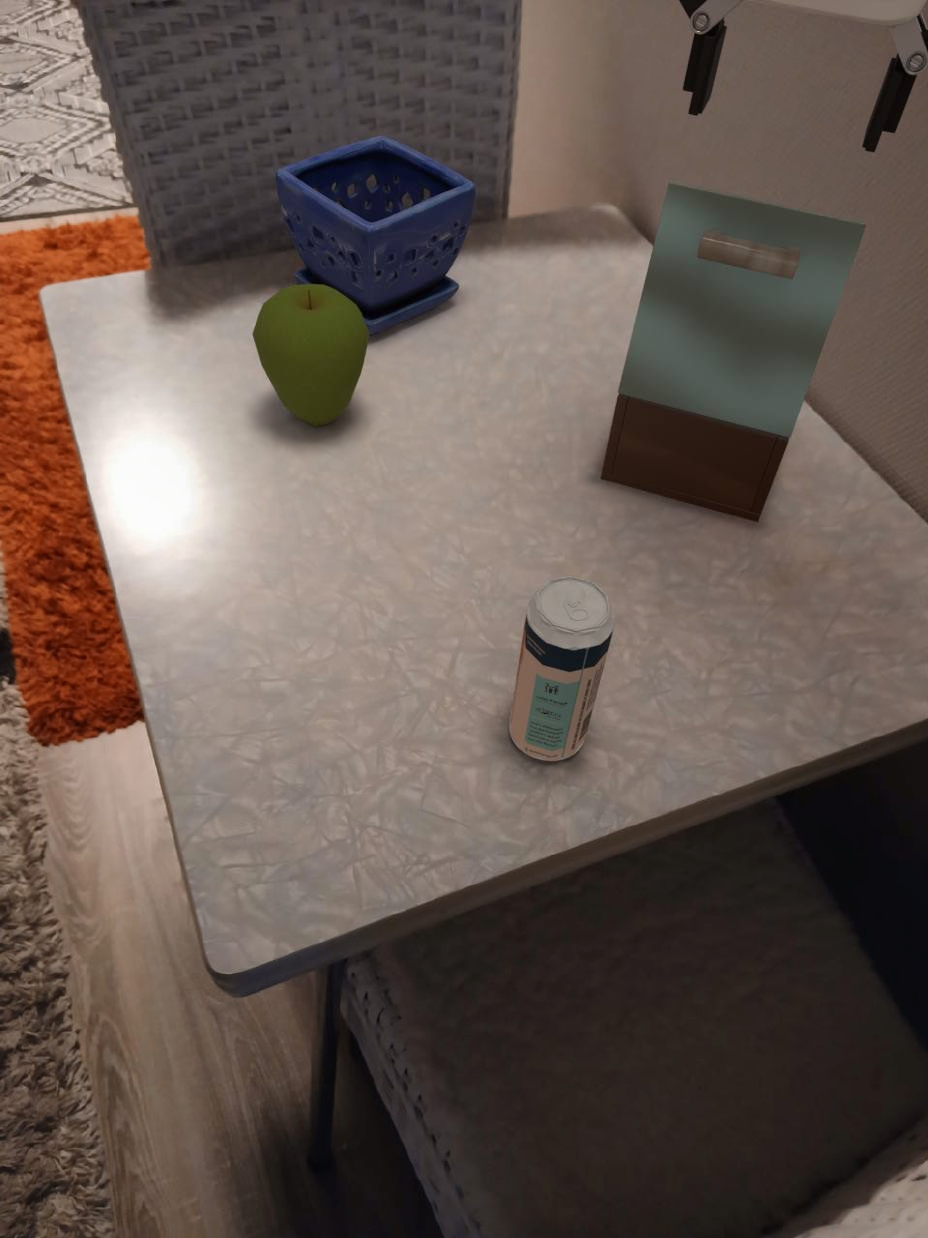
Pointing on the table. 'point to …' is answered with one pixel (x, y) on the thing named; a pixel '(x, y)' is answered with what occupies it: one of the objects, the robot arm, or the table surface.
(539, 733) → the beer can
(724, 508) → the chest
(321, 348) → the apple
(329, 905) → the table surface
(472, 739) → the table surface
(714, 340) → the lid
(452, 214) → the flower pot
